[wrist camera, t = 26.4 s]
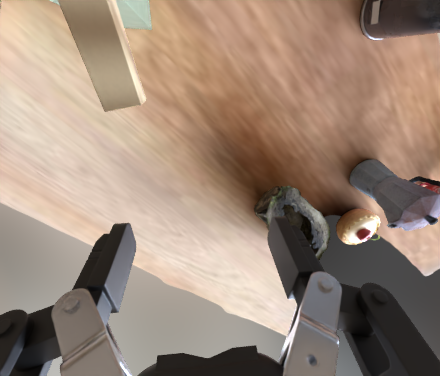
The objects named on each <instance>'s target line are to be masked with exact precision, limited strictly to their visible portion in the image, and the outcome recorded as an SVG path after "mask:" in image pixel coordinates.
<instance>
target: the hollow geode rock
mask: <svg viewBox="0 0 440 376" xmlns="http://www.w3.org/2000/svg"><path fill="white" fill-rule="evenodd" d="M254 211H255V213H256V216H258V217H259V218H260V219H262V220H263V221H264V222H265V223H266V224H267V228H268V230H269V228H270V223H271V219H272V217H286V218H287V219H288V221H289V223H290V225H296V226H297V227H298V228H299V229H300V230H301V231H302V232H303V234H304V235H305V237H306V239H307V241H308V242H309V244H310V247H311V248H312V250H313V251H314V253H315V255H316V257H317V259H318V260H320V258H321V256H322V254H323V253H324V251H325V250H327V248H328V245H327V244H328V243H329V239H330V228H329V225H328V222H327V221H326V220H325V219H324V217H323V216H322V213H321V212H319V211H317V210H316V209H314V208H313V207H312V205H310V204H309V202H308V201H307V200H306V199H304V198H303V197H301V194H300V191H299V190H298V189H296V188H293V187H290V186H286V187H283V186H281V188H280V187H279V186H276V187H274V188H272V189H270V190H269V191H267V192H265V193H264V194H263V196H262V197H261V198H260V200H259V201H258V203H257V204H256V205H255V207H254Z"/></svg>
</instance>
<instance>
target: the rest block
mask: <svg viewBox="0 0 440 376" xmlns="http://www.w3.org/2000/svg"><path fill="white" fill-rule="evenodd" d="M50 1H52V2H54V3H56V4H58V5H60V4H59V2H58V0H50ZM116 3H117V6H118V9H119V13H120V16H121V19H122V22H123V25H124V28H131V29H147V30H152V25H151V16H150V6H149V0H116Z"/></svg>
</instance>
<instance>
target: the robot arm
mask: <svg viewBox="0 0 440 376" xmlns="http://www.w3.org/2000/svg"><path fill="white" fill-rule="evenodd" d="M360 25H361V29H362V32H363V33H364V35H365V36H366V37H367V38H369V39H371V40H382V39H385V38H396V37H405V36H414V35H423V34H432V33H440V0H364V2H363V5H362V8H361V14H360ZM268 245H269V248H270V251H271V253H272V256H273V259H274V262H275V265H276V267H277V270H278V273H279V276H280V279H281V281H282V284H283V287H284V290H285V293H286V295H287V298H288V299H295V300H296V303H297V306H296V309H295V312H294V315H293V318H292V322H291V325H290V328H289V331H288V334H287V338H286V341H285V343H284V346H283V349H282V351H281V354H280V357H279V360H278V362H277V361H275V360H274V359H272V358H270V357H269V356H266V355H264V354H261V353H258V352H257V348H256V346H246V347H236V348H231V349H229V350H227V351H225V352H222V353H220V354H218V355H216V356H213V357H211V358H203V357H198V356H194V355H189V354H185V353H178V354H168V355H158V356H157V363H156V364H154V365H152V366H150V367H148V368H147V369H145V370H144V371H142V372H141V373H140V374H139V375H138V376H335V373H336V365H337V358H338V350H339V336H338V335H337V334H336V331H337V330H341V331H343V332H344V334H345V336H346V339H347V341H348V343H349V345H350V347H351V350H352V352H353V354H354V356H355V358H356V361H357V363H358V365H359V367H360V369H361V372H362V374H363V376H440V361H439V360H438V358H437V357H436V355H435V354H434V353H433V351H432V350H431V348H430V347H429V346H428V344H427V343H426V341H425V340H424V339H423V337H422V336H421V334H420V333H419V332H418V330H417V329H416V327H415V326H414V324H413V323H412V322H411V320H410V319H409V317H408V316H407V315H406V313H405V312H404V311H403V309H402V308H401V306H400V305H399V304H398V302H397V301H396V299H395V298H394V297H393V295H392V294H391V293H390V292H389V291H388V290H386V289H385V288H383V287H381V286H380V285H377V284H374V283H366V284H364V285H363V286H362V287H361V288H357V287H353V286H348V285H344V284H341V283H339V282H338V281H337V280H336V279H335V278H334V277H333V276H331V275H330V274H328V273H326V272H325V271H324V269H323V268H322V266H321V264H320V262H319V260H318V259H317V257H316V255H315V253H314V251H313V250H312V248H311V247H310V244H309V242H308V241H307V239H306V237H305V235H304V234H303V232H302V231H301V230H300V229H299V228H298V227H297V226H296V225H290V223H289V221H288V219H287V218H286V217H272V219H271V223H270V228H269V232H268ZM135 252H136V241H135V238H134V234H133V231H132V228H131V225H130V223H121V224H114V225H113V227H112V229H111V231H110V234H103V235H102V236H101V237H100V238H99V239H98V240H97V241H96V243H95V245H94V247H93V249H92V252H91V253H90V255H89V257H88V260H87V261H86V263H85V265H84V267H83V269H82V271H81V273H80V276H79V277H78V279H77V281H76V283H75V285H74V287H73V289H72V291H70V292H68V293H66V294H64V295H63V296H62V297H61V298H60V299H59V300H58V301H57V302H56V303H55V305H52V306H50V307H47V308H44V309H42V310H39V311H36V312H33V313H31V314H27V313H26V312H24V311H23V310H12V311H9V312H6V313H4V314H2V315H0V376H47V373H48V370H49V368H50V365H51V363H52V360H53V359H55V358H58V357H60V356H62V359H63V363H62V364H61V365H60V373H61V376H132V374H131V372H130V370H129V368H128V366H127V364H126V362H125V360H124V358H123V356H122V354H121V351H120V349H119V347H118V345H117V342H116V340H115V338H114V335H113V333H112V331H111V329H110V326H109V324H108V319H109V316H110V313H117V312H119V308H120V305H121V302H122V298H123V294H124V291H125V288H126V284H127V280H128V277H129V273H130V270H131V266H132V263H133V259H134V256H135Z"/></svg>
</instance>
